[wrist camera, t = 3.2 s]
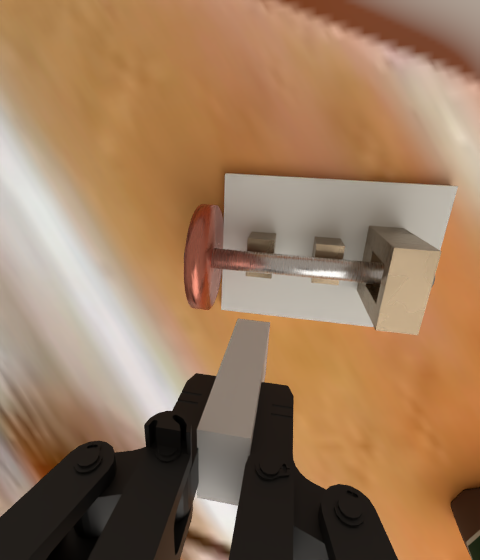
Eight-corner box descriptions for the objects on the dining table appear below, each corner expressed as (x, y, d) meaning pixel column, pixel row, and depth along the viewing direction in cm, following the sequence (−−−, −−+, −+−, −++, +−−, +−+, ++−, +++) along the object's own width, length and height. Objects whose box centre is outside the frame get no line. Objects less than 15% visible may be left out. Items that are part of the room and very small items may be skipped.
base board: (223, 305, 36) (221, 309, 35) (227, 173, 31) (225, 173, 30) (413, 326, 33) (417, 332, 32) (451, 185, 28) (457, 186, 27)
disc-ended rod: (203, 285, 34) (173, 325, 26) (203, 197, 31) (169, 211, 23) (399, 305, 32) (437, 358, 23) (422, 212, 29) (477, 234, 20)
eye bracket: (248, 279, 33) (235, 314, 25) (252, 217, 30) (239, 235, 23) (388, 293, 31) (417, 335, 24) (403, 228, 29) (441, 251, 21)
